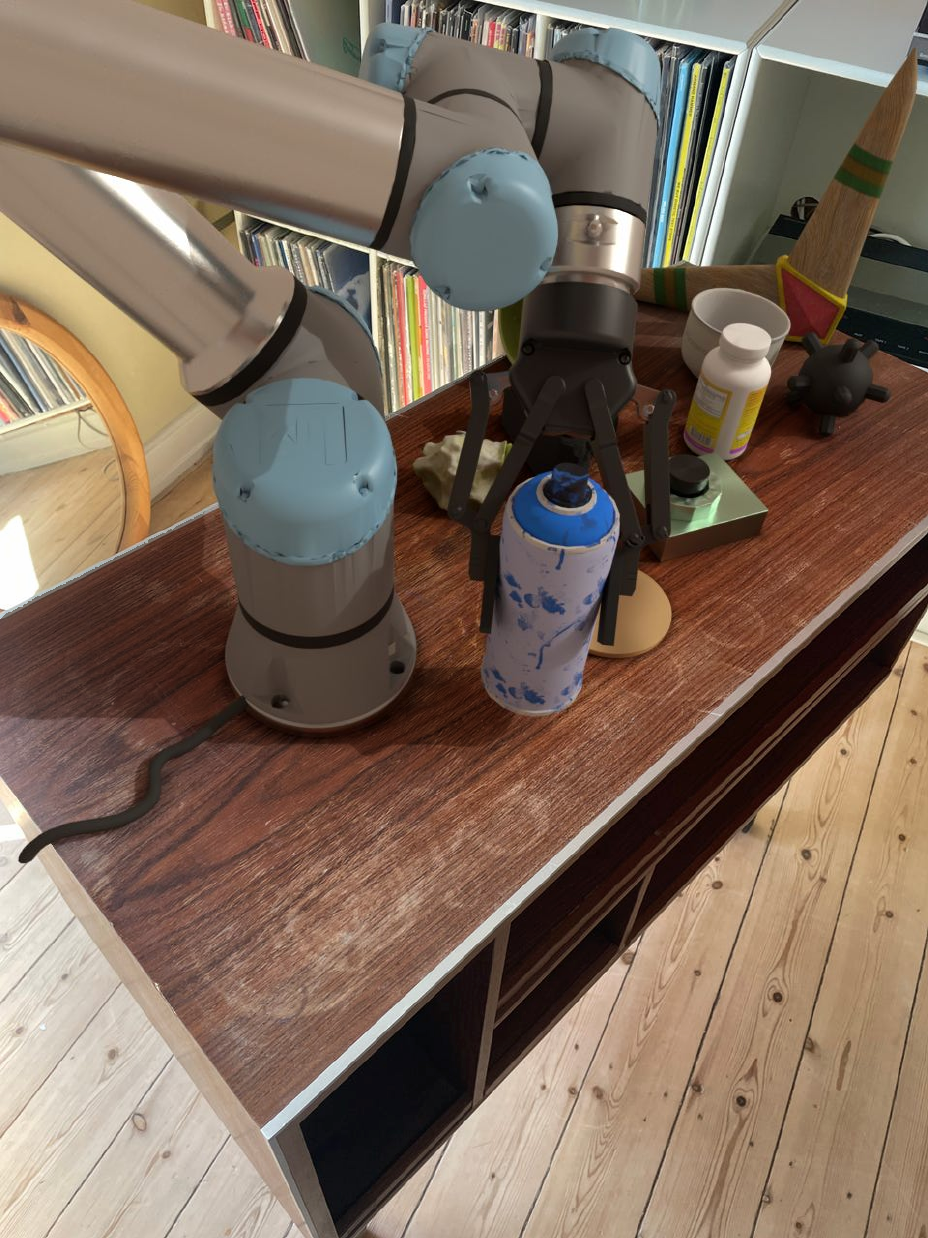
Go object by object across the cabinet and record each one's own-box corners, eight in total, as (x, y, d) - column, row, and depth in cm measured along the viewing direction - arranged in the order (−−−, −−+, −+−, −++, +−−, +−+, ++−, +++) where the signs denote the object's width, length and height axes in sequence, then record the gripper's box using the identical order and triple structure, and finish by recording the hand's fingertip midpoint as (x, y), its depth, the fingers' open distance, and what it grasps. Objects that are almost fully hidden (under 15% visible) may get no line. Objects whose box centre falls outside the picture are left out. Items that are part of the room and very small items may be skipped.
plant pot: (590, 382, 112) (511, 388, 107) (569, 286, 113) (488, 288, 107) (651, 343, 102) (566, 348, 97) (627, 238, 102) (541, 238, 97)
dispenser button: (676, 503, 85) (681, 486, 83) (653, 476, 87) (658, 458, 86) (713, 493, 86) (718, 476, 85) (690, 467, 89) (695, 449, 87)
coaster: (581, 673, 77) (582, 668, 77) (524, 581, 84) (525, 577, 83) (693, 638, 81) (695, 633, 80) (631, 552, 87) (632, 548, 87)
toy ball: (806, 426, 109) (822, 468, 99) (757, 354, 105) (769, 390, 95) (894, 372, 104) (920, 411, 94) (846, 294, 100) (868, 326, 90)
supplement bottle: (741, 427, 101) (778, 320, 91) (748, 466, 96) (787, 358, 87) (679, 420, 101) (710, 313, 91) (683, 459, 97) (715, 351, 87)
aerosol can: (592, 651, 74) (645, 451, 59) (568, 729, 69) (621, 531, 54) (497, 624, 75) (525, 421, 60) (467, 698, 70) (490, 497, 55)
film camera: (637, 486, 93) (656, 412, 87) (549, 506, 91) (562, 431, 84) (570, 399, 102) (583, 326, 96) (489, 415, 100) (496, 341, 93)
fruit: (528, 504, 93) (542, 452, 86) (452, 546, 89) (460, 495, 82) (473, 441, 96) (482, 387, 89) (398, 480, 92) (401, 426, 85)
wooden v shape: (906, 67, 87) (915, 43, 91) (578, 276, 117) (595, 251, 121) (1004, 263, 96) (1009, 234, 99) (675, 411, 125) (688, 384, 129)
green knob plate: (660, 562, 86) (672, 522, 83) (613, 500, 92) (623, 460, 88) (758, 534, 90) (774, 495, 86) (708, 476, 95) (721, 437, 91)
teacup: (683, 339, 112) (699, 276, 106) (774, 359, 110) (796, 297, 104) (662, 404, 103) (679, 340, 97) (761, 427, 101) (784, 363, 95)
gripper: (425, 260, 58) (390, 626, 59) (752, 292, 58) (709, 658, 59) (430, 294, 65) (399, 619, 67) (719, 323, 65) (682, 647, 67)
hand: (545, 637), depth 63 cm, fingers closed on aerosol can, 7 cm apart
